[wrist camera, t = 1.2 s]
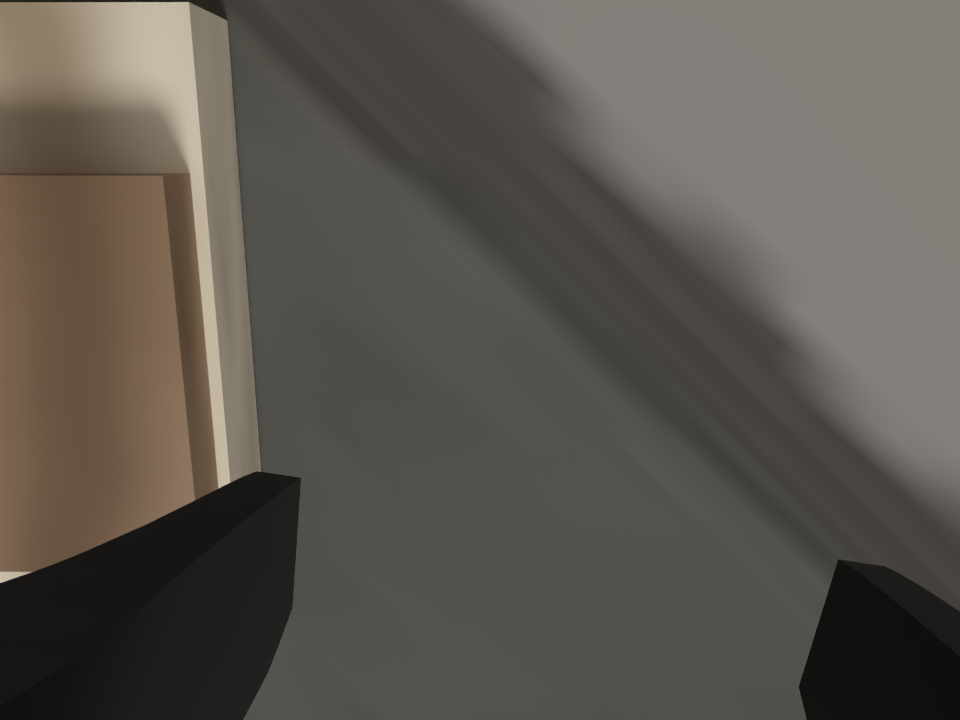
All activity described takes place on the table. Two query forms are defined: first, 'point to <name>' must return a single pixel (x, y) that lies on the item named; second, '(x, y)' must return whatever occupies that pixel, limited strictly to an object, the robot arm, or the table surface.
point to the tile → (98, 361)
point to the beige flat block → (144, 152)
